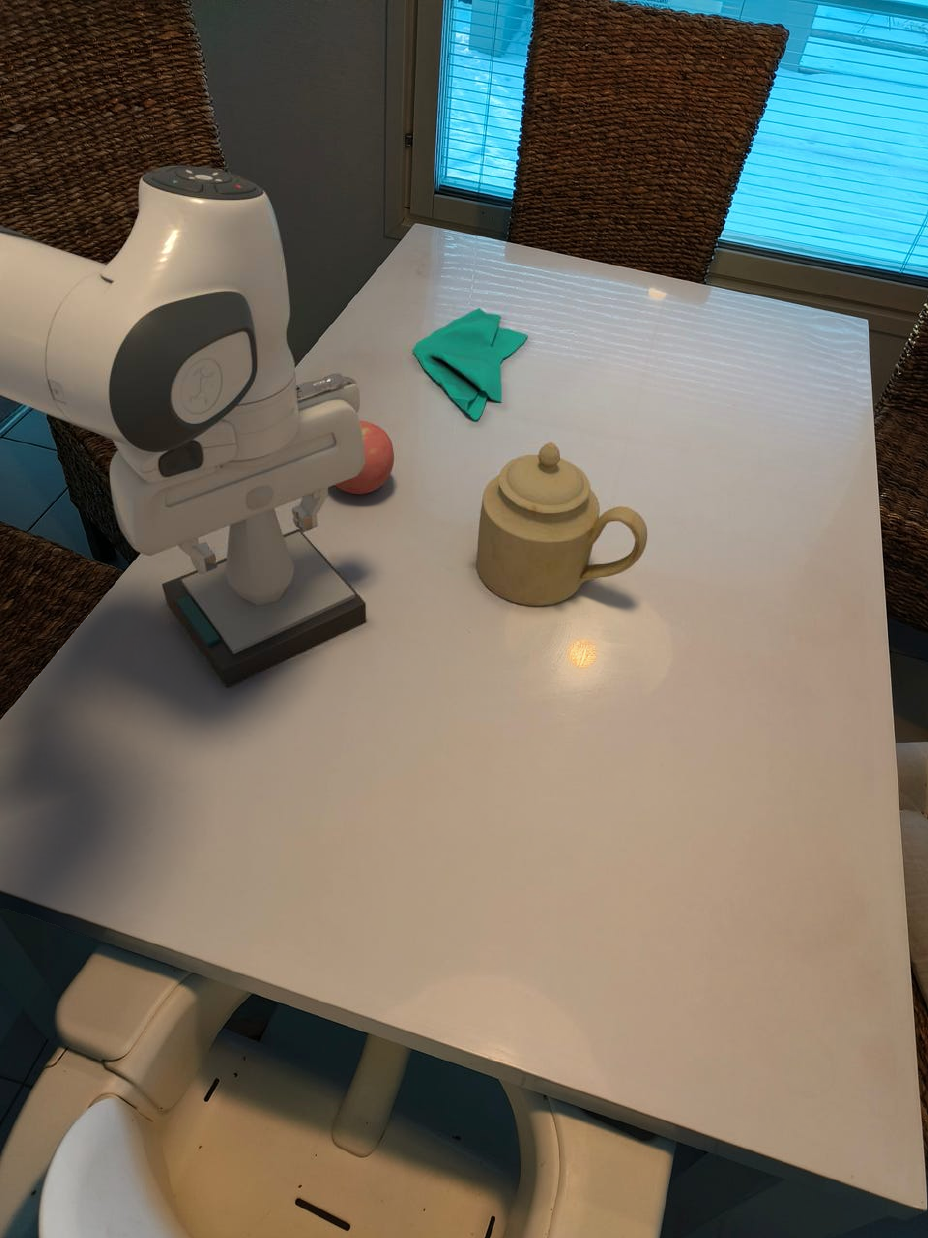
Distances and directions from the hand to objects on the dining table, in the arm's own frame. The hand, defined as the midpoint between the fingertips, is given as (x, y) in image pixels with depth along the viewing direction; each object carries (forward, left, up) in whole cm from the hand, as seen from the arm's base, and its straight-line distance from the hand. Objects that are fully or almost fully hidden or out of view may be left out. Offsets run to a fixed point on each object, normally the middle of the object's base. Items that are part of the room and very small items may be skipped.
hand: (256, 546), depth 72 cm
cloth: (+43, +26, -8) cm, 50 cm away
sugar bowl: (+26, -10, -8) cm, 29 cm away
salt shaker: (0, 0, -5) cm, 5 cm away
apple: (+17, +11, -8) cm, 22 cm away
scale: (0, 0, -8) cm, 8 cm away
